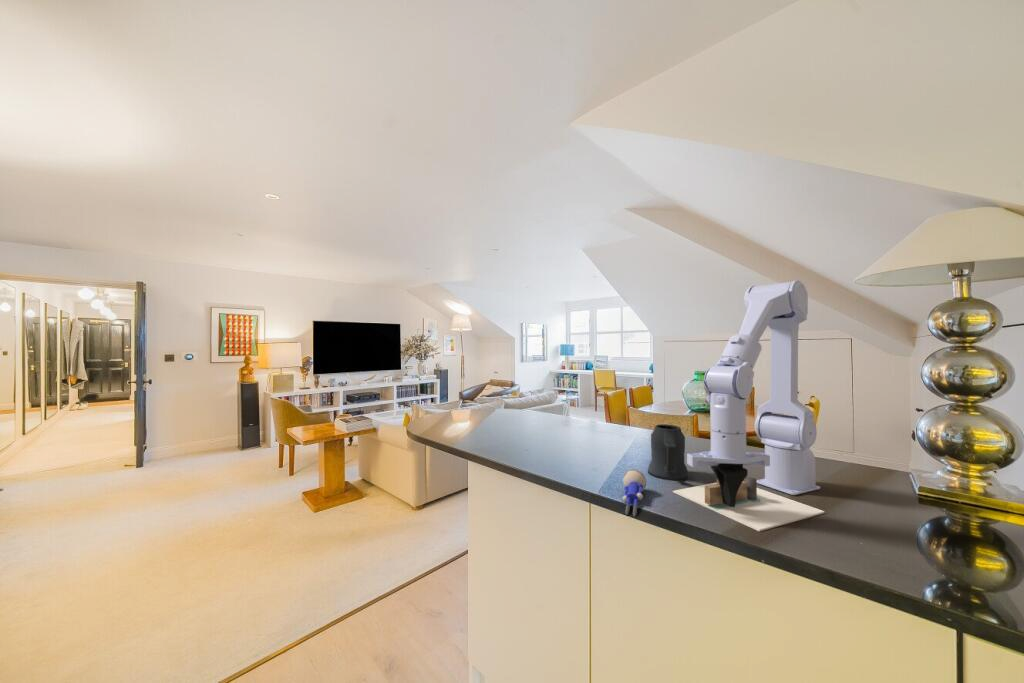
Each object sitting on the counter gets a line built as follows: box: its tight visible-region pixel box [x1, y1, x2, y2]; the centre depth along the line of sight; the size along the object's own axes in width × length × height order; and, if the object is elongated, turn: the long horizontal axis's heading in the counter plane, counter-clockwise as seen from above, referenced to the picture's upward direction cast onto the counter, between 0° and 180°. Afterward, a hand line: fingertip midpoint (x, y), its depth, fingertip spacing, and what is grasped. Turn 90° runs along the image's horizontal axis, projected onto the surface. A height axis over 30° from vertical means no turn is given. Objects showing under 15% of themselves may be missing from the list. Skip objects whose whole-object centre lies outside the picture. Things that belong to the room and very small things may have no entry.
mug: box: [647, 423, 689, 482], centre depth 88 cm, size 12×9×11 cm
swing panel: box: [705, 481, 747, 505], centre depth 72 cm, size 9×1×3 cm, turn 109°
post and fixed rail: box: [716, 476, 758, 500], centre depth 77 cm, size 2×8×4 cm, turn 23°
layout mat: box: [672, 481, 826, 532], centre depth 73 cm, size 18×18×1 cm
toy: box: [622, 469, 647, 518], centre depth 74 cm, size 5×5×15 cm
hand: (728, 504), depth 69 cm, fingers closed
